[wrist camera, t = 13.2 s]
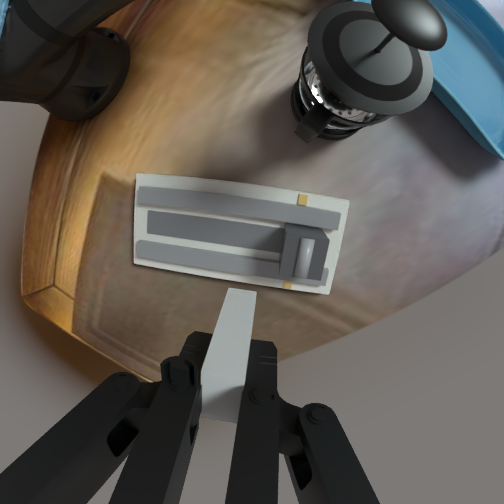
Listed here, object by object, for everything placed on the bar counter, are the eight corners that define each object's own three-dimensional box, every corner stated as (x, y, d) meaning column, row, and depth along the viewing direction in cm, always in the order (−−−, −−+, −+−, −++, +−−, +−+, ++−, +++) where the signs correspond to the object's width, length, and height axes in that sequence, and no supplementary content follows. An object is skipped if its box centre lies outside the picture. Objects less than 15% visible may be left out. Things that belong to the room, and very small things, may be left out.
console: (138, 259, 37) (130, 265, 34) (141, 172, 33) (133, 173, 31) (327, 289, 36) (330, 298, 33) (346, 199, 32) (351, 202, 30)
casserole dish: (307, 14, 25) (313, -14, 18) (378, -46, 19) (390, -68, 12) (492, 190, 29) (522, 197, 23) (530, 105, 23) (554, 103, 16)
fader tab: (278, 259, 33) (279, 277, 28) (284, 223, 32) (286, 235, 26) (314, 264, 33) (321, 283, 28) (321, 229, 32) (331, 242, 26)
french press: (323, 52, 27) (377, -70, 5) (382, 99, 28) (505, 38, 6) (266, 117, 30) (246, 25, 8) (328, 166, 31) (428, 170, 9)
